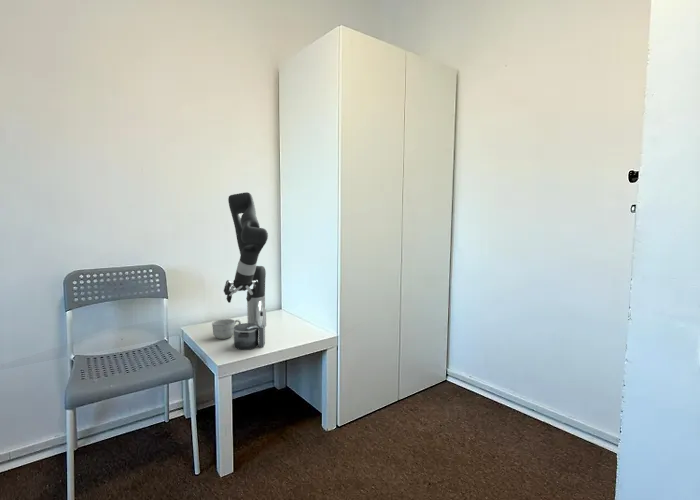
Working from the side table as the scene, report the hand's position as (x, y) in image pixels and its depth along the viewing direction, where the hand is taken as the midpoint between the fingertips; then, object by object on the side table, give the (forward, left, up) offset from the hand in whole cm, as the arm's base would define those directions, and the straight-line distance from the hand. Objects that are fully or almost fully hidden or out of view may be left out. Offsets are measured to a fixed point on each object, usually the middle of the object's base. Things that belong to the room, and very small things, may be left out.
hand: (238, 300), depth 176 cm
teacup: (-14, -20, -24) cm, 34 cm away
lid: (-12, +2, -9) cm, 15 cm away
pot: (-10, -2, -24) cm, 26 cm away
